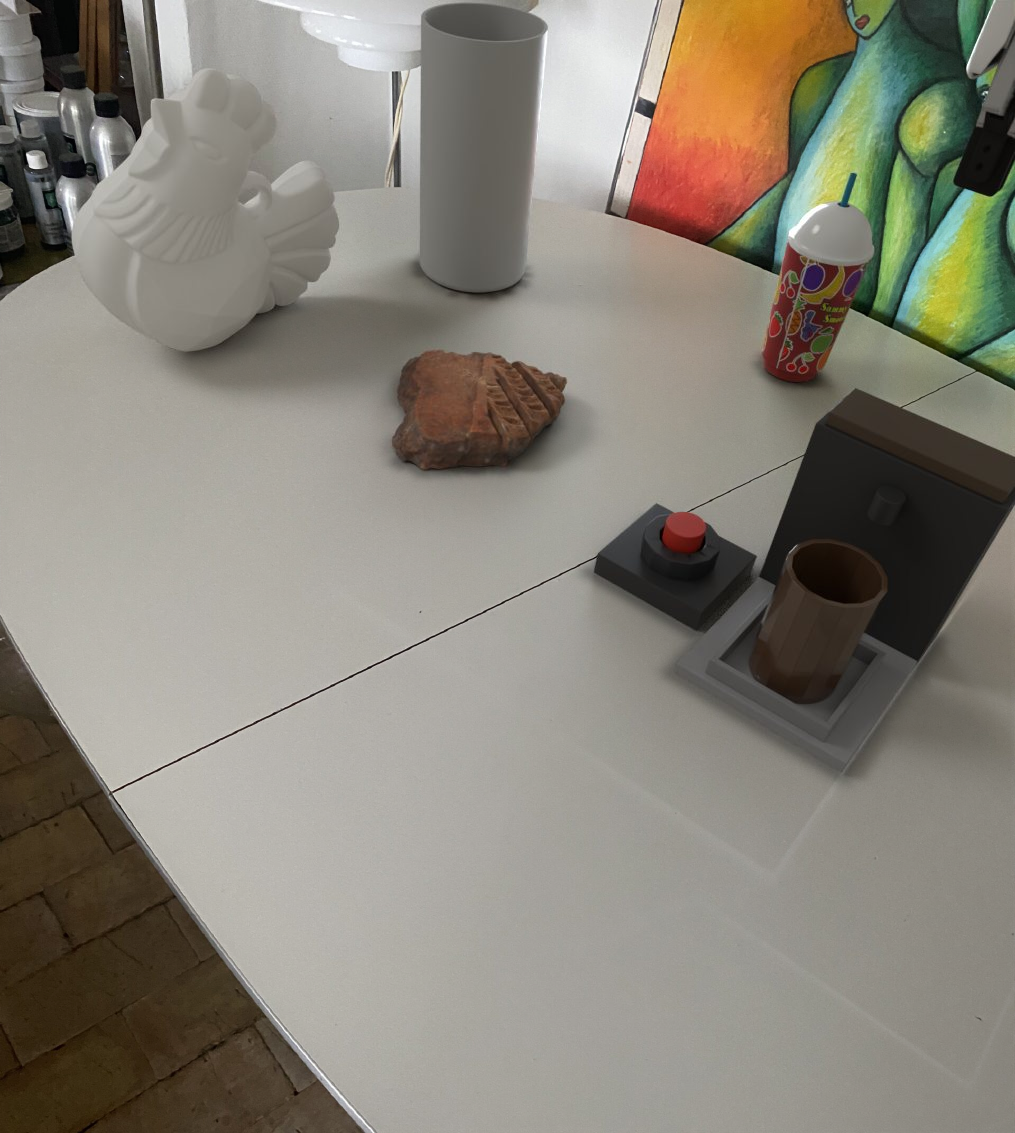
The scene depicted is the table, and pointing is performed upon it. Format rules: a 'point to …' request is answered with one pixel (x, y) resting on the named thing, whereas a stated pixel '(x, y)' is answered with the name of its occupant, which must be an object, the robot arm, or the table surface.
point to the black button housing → (674, 569)
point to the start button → (684, 532)
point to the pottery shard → (472, 409)
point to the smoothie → (816, 287)
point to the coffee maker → (892, 537)
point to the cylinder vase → (478, 142)
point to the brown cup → (816, 619)
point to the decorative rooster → (203, 220)
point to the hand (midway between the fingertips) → (976, 187)
